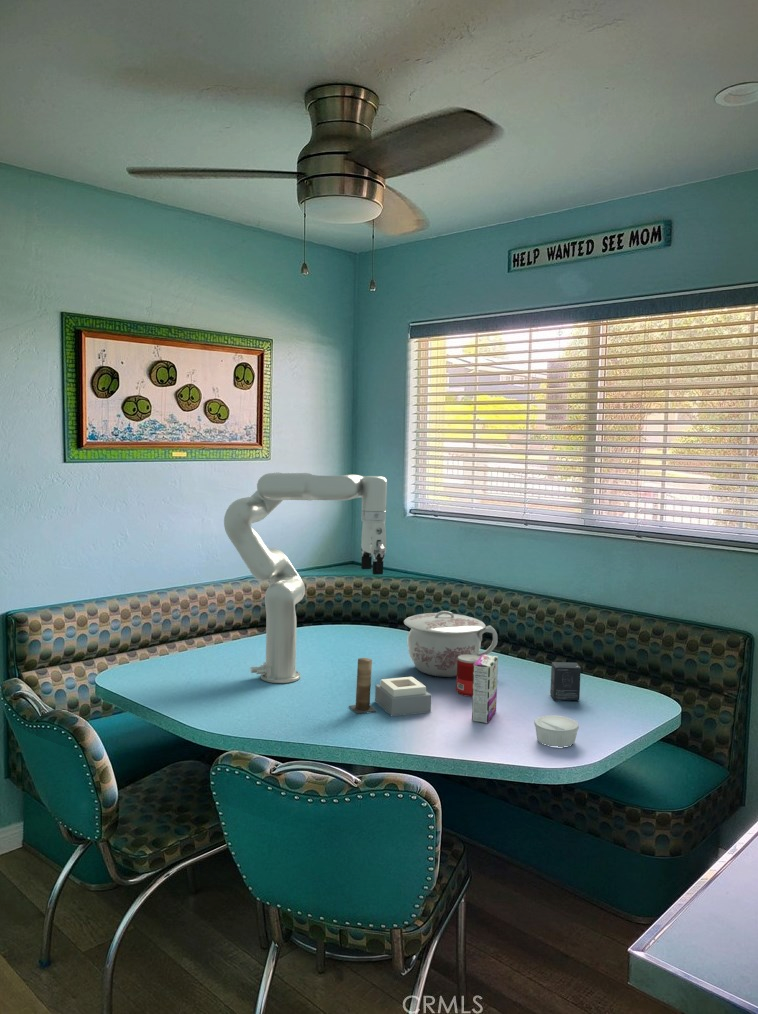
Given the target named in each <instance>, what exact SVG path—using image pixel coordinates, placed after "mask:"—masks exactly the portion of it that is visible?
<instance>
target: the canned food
mask: <svg viewBox="0 0 758 1014" xmlns="http://www.w3.org/2000/svg"><path fill="white" fill-rule="evenodd" d="M479 658H480V656H477V655H469V654H465V655H460V656H458V659H457V676H456V687H455V688H456V690H455V691H456V692H457V693H458V694H459V695H461V696H464V695H466V697H473V665H474V664H475V662H476V661H477V660H478V659H479Z"/></svg>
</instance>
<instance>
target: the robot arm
mask: <svg viewBox="0 0 758 1014" xmlns="http://www.w3.org/2000/svg"><path fill="white" fill-rule="evenodd" d="M387 489H388V480H387V478H386V477H385V476H381V475H380V476H379V475H366V476H365V475H361V474H355V473H354V474H343V475H316V474H312V473H309V472H291V473H290V472H287V473H286V472H285V473H284V472H268V473H265V474H263V475H261V477H259V479H258V481H257V484H256V491H255V492H253V493H252V494H251V496H247V497H242V498H239V499H238V498H237V499H236V500H234V501H233V502H232V503H230V505H229V506H228V508H227V509H226V511H225V513H224V516H223V527H224V531H225V533H226V535H227V537H228V539H229V541H231V544H232V545H233V546H234V548H235V549H236V551H237V553H238V555H239V557H241V559H242V560H243V562H244V563H245V565H246V567H247V568H248V569H249V571H250V573H251V575H252V576H253V577H254V578H255V579H256V580H258V581H260V582H266V581H269V582H270V585H268V587H267V589H266V591H265V594H264V607H265V612H266V613H265V614H266V615H265V618H266V621H265V622H266V625H265V626H266V628H265V629H266V631H265V632H266V634H265V638H266V639H265V661H264V662H263V663H262V664H260V666H251V667H250V674H254V673H255V674H256V675H260V679H261V680H262V681H264V682H267V683H273V684H288V683H292V682H296V681H298V680H299V679H301V673H300V672H299V671H298V670H296V666H297V665H296V663H297V661H296V659H297V614H296V613H297V612H296V604H298V603H299V602H301V601H302V600H303V598H304V597H305V594H306V586H305V583H304V581H303V579H302V578H301V576H300V575H299V573H298V572H297V570H296V568H295V567H294V566H293V564H292V562H291V560H289V558H288V556H287V555H286V554H285V553H284V552H283V551H282V550H280V549H278V548H274V547H271V548H270V547H269V548H268V546H267V544H266V543H265V542H264V541H263V539H262V537H261V536H260V534H259V533H258V532H257V530H255V529H254V528H253V527H252V524H254V523H259V522H261V521H262V520H264V519H266V518H267V517H268V515H270V514H271V513H272V512H273V511H274V510H275V509H276V508H277V506H279V505H280V504H281V503H282V502H283V501H349V500H354V499H359V498H361V520H360V521H361V522H362V526H361V527H362V528H361V539H360V540H361V541H360V545H361V546H360V547H361V549H360V550H361V552H360V553H361V554H360V555H361V565H360V566H361V570H371V569H372V575H383V574H384V561H385V558H384V557H385V554H386V553H387V530H386V520H387ZM371 555H372V556H371ZM372 558H373V561H372Z"/></svg>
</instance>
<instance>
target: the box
mask: <svg viewBox="0 0 758 1014" xmlns="http://www.w3.org/2000/svg"><path fill="white" fill-rule="evenodd" d="M550 671H551V672H550V673H551V675H550V692H549V693H550V694H551V695H550V696H551V698H552V697H553V698H552V699H553V701H558V700H579V701H580V697H581V694H580V693H581V692H580V691H581V690H580V689H581V674H582V671H581V666H580V665H579V664H578V663H577V662H562V661H561V662H560V661H559V662H558V661H557V662H556V661H552V662H551V669H550Z"/></svg>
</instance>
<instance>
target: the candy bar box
mask: <svg viewBox="0 0 758 1014" xmlns="http://www.w3.org/2000/svg"><path fill="white" fill-rule="evenodd" d="M498 661H499V656H498V655H491V654H487V655H481V657H480V658H479V659H478V660H477V661H476V662H475V664H474V665H473V696H472V700H471V701H472V702H471V703H472V707H471V710H472V711H471V712H472V713H471V722H474V723H478V724H479V723H481V724H487V725H488V724H489V723H490V721H491V720H492V718H493V716H495V713H496V712H497V693H498V668H499V667H498V665H499V664H498V663H499V662H498Z"/></svg>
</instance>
